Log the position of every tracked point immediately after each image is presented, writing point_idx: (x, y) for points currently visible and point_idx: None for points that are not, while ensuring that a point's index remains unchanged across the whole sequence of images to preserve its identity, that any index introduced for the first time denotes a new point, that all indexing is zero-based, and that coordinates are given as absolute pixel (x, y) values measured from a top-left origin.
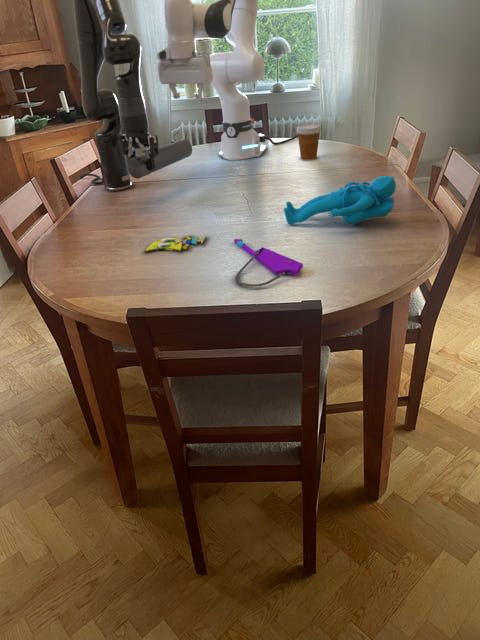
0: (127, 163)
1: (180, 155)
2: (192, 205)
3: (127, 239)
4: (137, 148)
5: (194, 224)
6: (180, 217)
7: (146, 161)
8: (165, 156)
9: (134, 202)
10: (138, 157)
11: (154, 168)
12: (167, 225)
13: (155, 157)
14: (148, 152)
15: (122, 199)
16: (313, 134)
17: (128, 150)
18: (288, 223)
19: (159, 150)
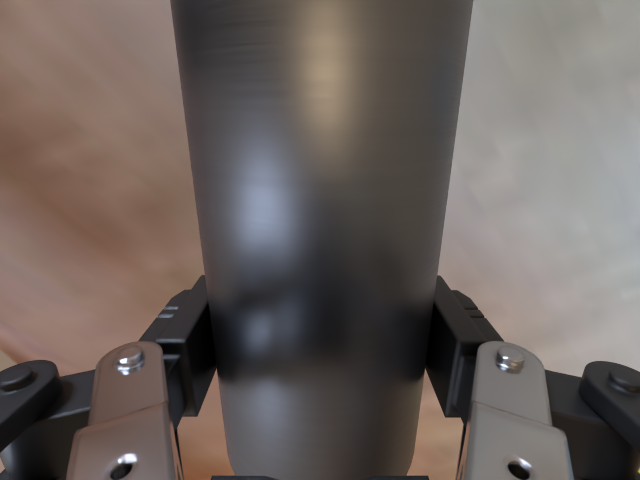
0: (231, 462)
1: None
2: (530, 105)
3: (446, 459)
4: (168, 417)
5: (635, 300)
6: (540, 260)
7: (419, 388)
8: (471, 3)
9: (183, 178)
10: (347, 468)
11: (439, 281)
12: (524, 341)
13: (439, 231)
14: (315, 250)
15: (78, 162)
16: None
17: (37, 448)
18: None
19: (405, 8)
